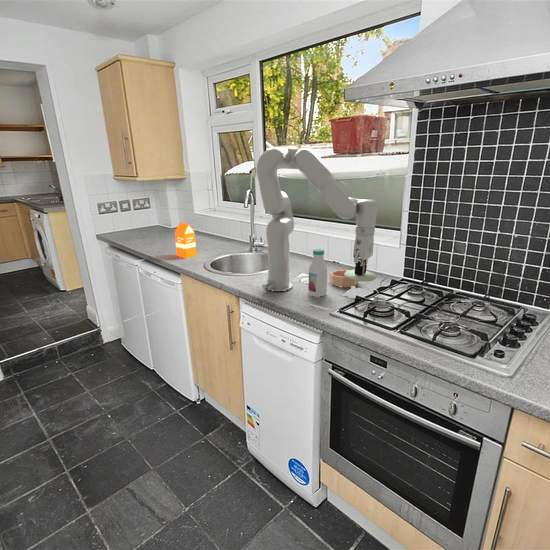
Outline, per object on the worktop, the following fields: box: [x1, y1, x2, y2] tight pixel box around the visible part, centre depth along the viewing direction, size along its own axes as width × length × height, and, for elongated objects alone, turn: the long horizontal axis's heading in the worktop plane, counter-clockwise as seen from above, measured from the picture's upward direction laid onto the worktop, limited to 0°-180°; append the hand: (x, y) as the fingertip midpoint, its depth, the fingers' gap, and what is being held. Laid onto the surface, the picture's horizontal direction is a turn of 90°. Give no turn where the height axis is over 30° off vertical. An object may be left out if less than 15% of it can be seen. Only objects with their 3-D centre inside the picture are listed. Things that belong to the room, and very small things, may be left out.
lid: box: [344, 260, 377, 283], centre depth 151 cm, size 13×13×6 cm
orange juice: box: [174, 222, 197, 259], centre depth 213 cm, size 8×9×20 cm
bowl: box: [329, 269, 359, 288], centre depth 166 cm, size 12×12×5 cm
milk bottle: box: [307, 248, 328, 298], centre depth 151 cm, size 8×8×20 cm
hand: (360, 273), depth 151 cm, fingers closed on lid, 3 cm apart
